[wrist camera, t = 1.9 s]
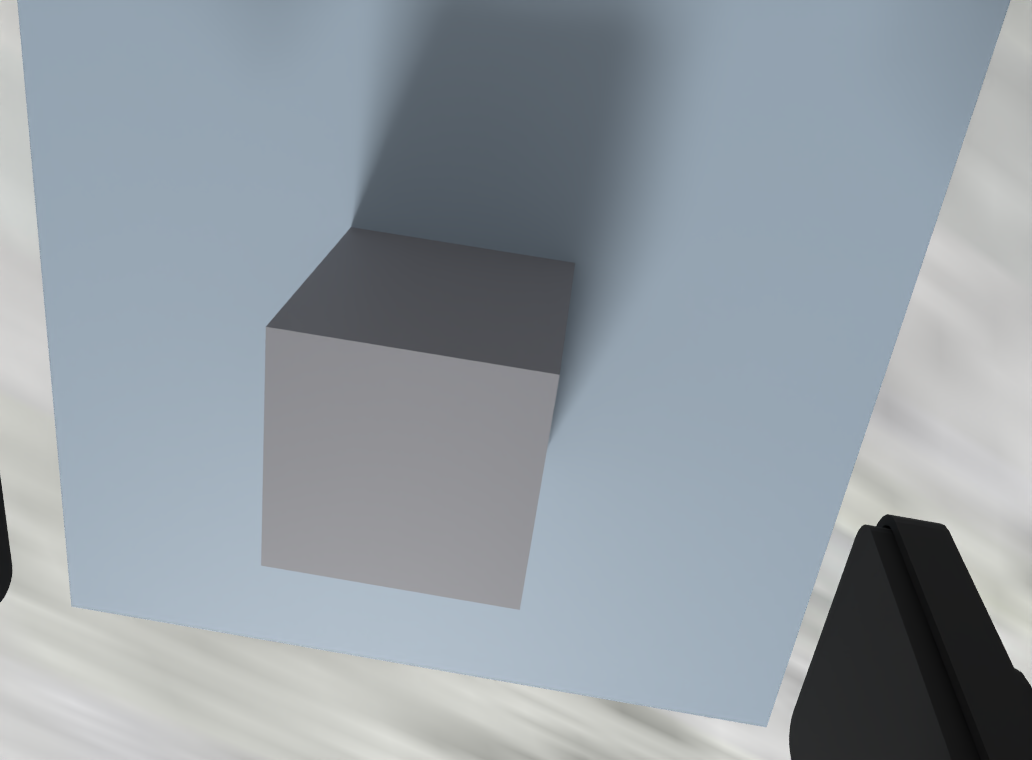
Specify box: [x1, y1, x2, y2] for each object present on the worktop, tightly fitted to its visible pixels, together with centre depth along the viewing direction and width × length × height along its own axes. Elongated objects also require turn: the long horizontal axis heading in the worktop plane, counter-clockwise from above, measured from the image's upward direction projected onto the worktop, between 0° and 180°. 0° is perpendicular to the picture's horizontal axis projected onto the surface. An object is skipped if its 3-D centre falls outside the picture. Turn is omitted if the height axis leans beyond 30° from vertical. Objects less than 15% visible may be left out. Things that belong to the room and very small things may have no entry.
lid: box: [17, 0, 1010, 727], centre depth 14 cm, size 14×14×5 cm
